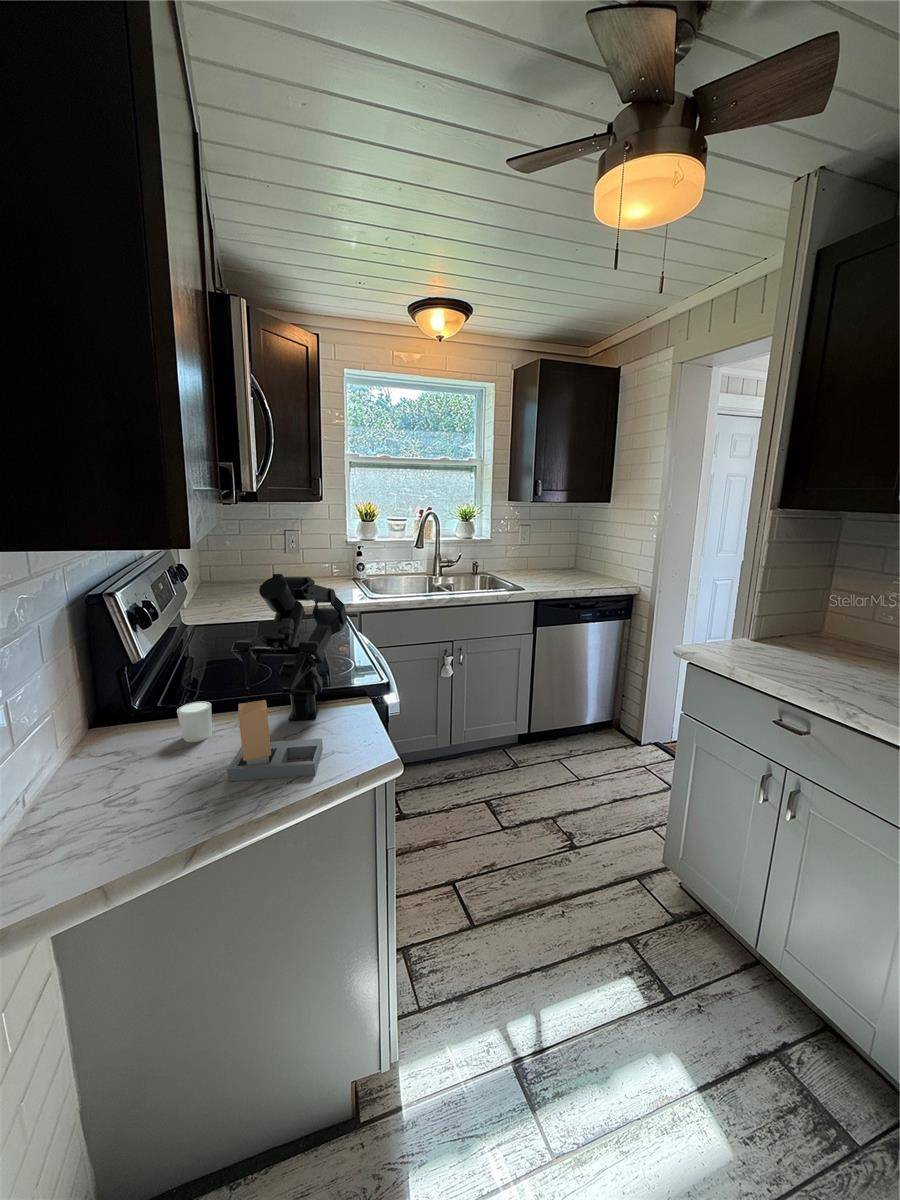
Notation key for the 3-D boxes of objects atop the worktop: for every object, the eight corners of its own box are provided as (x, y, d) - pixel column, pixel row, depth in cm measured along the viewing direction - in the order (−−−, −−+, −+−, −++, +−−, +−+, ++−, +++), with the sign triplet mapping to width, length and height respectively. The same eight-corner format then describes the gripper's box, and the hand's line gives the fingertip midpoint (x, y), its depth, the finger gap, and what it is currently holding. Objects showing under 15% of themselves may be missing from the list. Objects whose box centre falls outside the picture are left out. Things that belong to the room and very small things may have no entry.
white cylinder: (200, 744, 105) (196, 714, 104) (173, 742, 106) (169, 712, 105) (221, 730, 112) (218, 702, 110) (195, 727, 113) (191, 699, 112)
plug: (244, 764, 97) (238, 704, 94) (271, 759, 99) (265, 699, 96) (245, 777, 92) (238, 714, 90) (272, 771, 94) (267, 709, 92)
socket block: (244, 754, 101) (243, 743, 100) (322, 749, 102) (322, 738, 102) (228, 781, 91) (227, 769, 91) (315, 775, 93) (314, 763, 92)
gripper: (230, 604, 103) (207, 671, 94) (316, 604, 101) (300, 673, 93) (252, 630, 112) (232, 693, 104) (330, 631, 111) (317, 695, 102)
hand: (269, 688), depth 100 cm, fingers open, 9 cm apart
